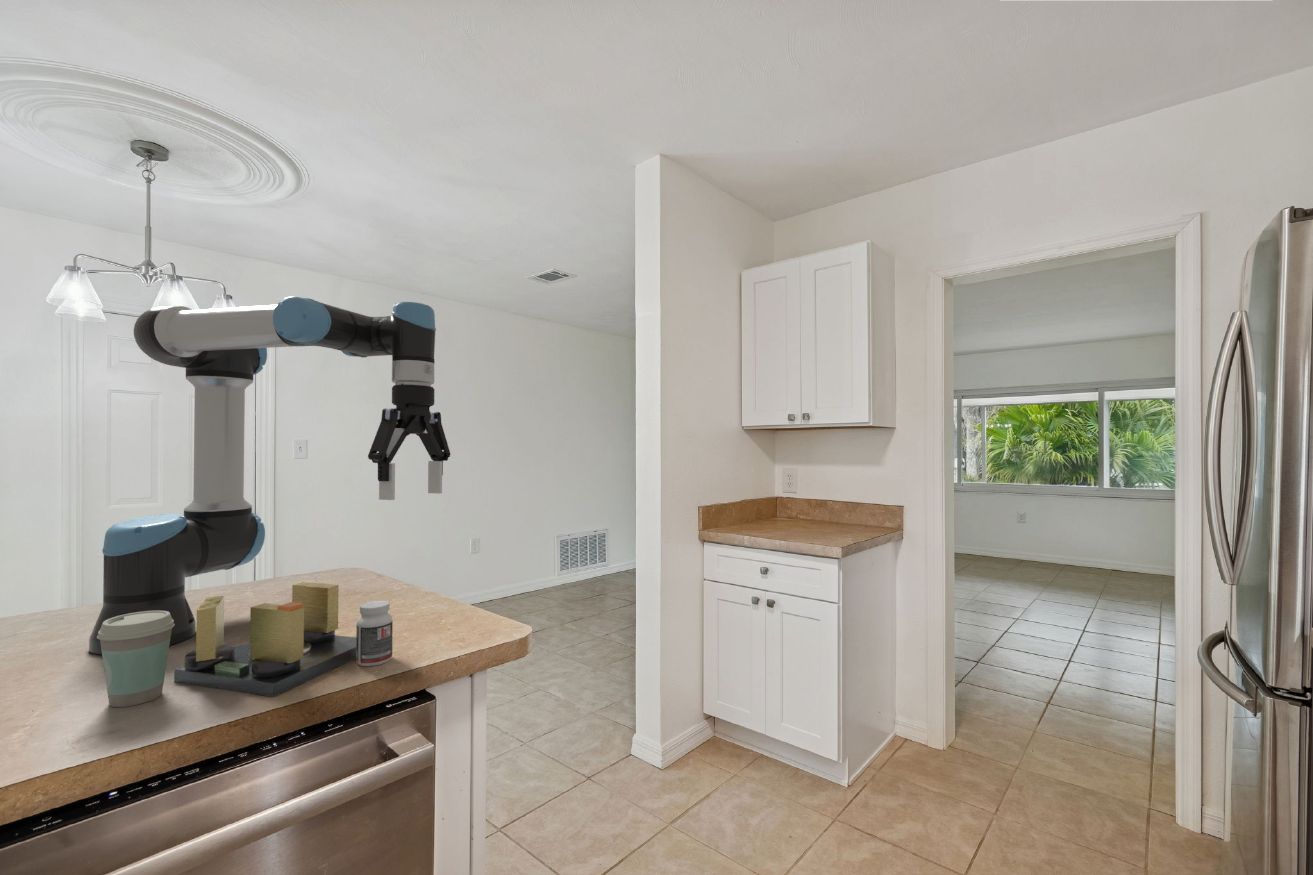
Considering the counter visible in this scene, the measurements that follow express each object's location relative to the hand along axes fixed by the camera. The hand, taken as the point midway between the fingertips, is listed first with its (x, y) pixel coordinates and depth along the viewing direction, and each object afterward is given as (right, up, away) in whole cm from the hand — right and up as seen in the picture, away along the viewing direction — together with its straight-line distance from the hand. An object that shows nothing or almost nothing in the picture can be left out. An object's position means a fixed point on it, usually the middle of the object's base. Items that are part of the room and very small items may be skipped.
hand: (412, 496), depth 109 cm
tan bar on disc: (-14, -26, -19) cm, 34 cm away
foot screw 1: (-26, -26, -16) cm, 40 cm away
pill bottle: (-3, -28, -9) cm, 30 cm away
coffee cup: (-31, -28, -24) cm, 48 cm away
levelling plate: (-18, -28, -11) cm, 35 cm away
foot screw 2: (-16, -26, -4) cm, 31 cm away
